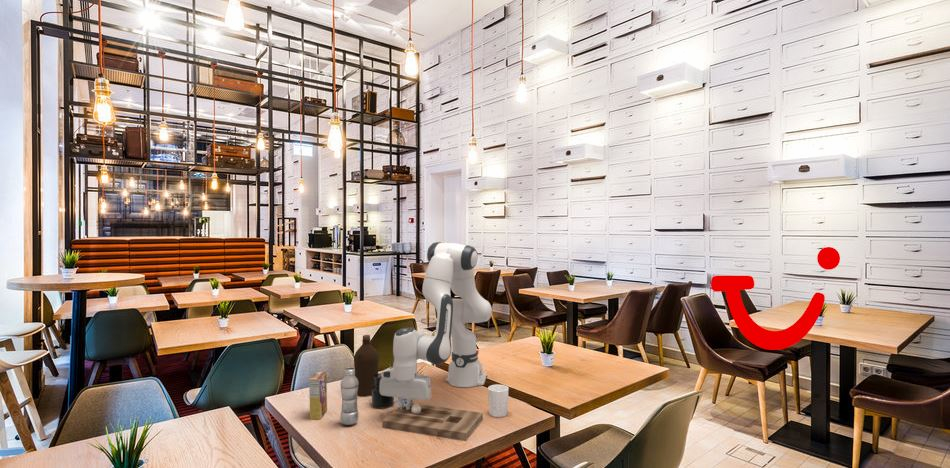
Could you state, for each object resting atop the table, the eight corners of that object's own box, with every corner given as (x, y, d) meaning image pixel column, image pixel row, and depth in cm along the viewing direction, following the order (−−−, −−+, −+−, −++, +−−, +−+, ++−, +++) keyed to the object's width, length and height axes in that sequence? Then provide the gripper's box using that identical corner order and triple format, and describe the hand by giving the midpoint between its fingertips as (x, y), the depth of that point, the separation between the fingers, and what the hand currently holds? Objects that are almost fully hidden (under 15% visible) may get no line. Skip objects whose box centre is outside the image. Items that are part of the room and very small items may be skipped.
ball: (414, 411, 168) (414, 402, 168) (422, 412, 167) (422, 403, 167) (409, 415, 164) (409, 405, 164) (418, 416, 163) (418, 406, 163)
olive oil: (378, 396, 191) (378, 337, 191) (352, 397, 189) (352, 338, 189) (379, 387, 201) (379, 332, 201) (355, 389, 200) (355, 333, 200)
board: (382, 427, 160) (382, 417, 160) (405, 408, 177) (405, 399, 177) (466, 440, 149) (466, 429, 149) (482, 419, 166) (482, 409, 166)
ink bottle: (392, 399, 187) (392, 370, 187) (396, 407, 179) (396, 377, 179) (369, 402, 184) (369, 373, 184) (372, 410, 176) (372, 379, 176)
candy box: (316, 410, 176) (316, 371, 176) (327, 410, 176) (327, 371, 176) (308, 419, 167) (308, 378, 167) (320, 419, 167) (320, 378, 167)
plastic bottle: (352, 418, 168) (352, 365, 168) (362, 423, 163) (362, 369, 163) (336, 423, 163) (336, 368, 163) (346, 429, 158) (345, 372, 158)
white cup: (507, 418, 167) (507, 392, 167) (486, 417, 169) (486, 390, 169) (509, 410, 175) (509, 385, 175) (489, 409, 176) (489, 383, 176)
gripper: (434, 372, 167) (434, 409, 166) (385, 367, 173) (386, 403, 173) (426, 377, 161) (426, 416, 161) (377, 372, 167) (377, 409, 167)
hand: (405, 409), depth 167 cm, fingers closed
